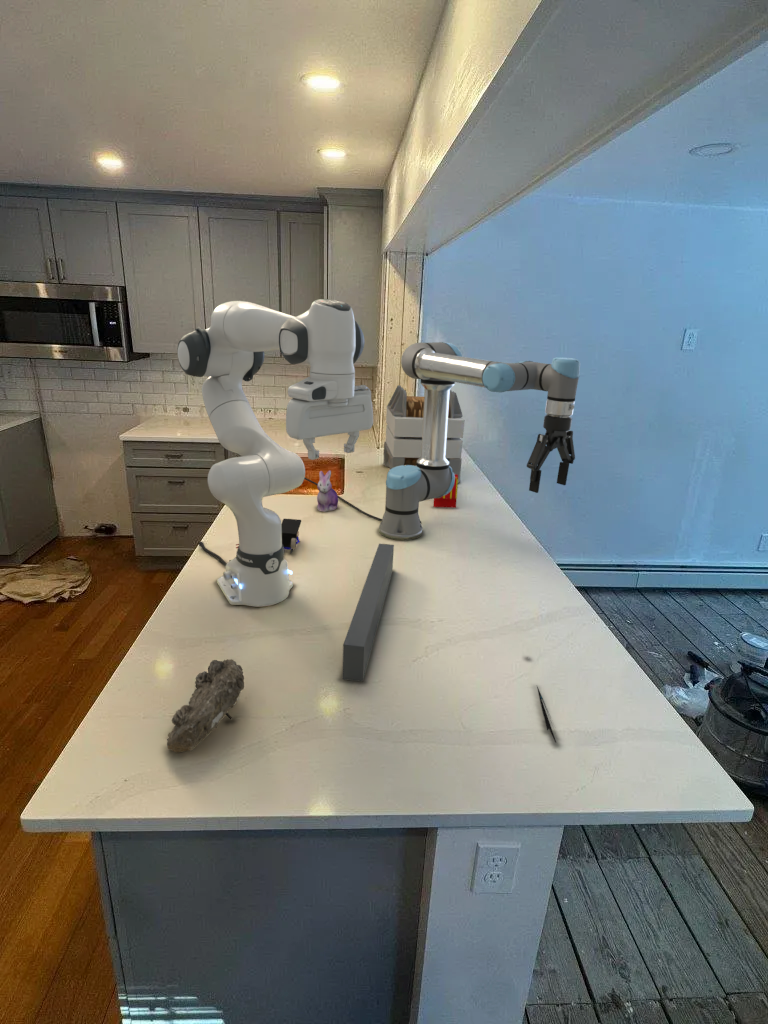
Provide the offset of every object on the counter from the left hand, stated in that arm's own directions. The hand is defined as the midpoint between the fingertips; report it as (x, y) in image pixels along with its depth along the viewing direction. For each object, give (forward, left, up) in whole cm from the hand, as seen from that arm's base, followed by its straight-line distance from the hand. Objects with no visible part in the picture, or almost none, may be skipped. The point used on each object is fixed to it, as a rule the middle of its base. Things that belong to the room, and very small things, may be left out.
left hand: (331, 455), depth 117 cm
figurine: (-79, +55, -46) cm, 106 cm away
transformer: (-95, +121, -46) cm, 161 cm away
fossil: (+6, -32, -46) cm, 56 cm away
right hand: (+5, +74, -18) cm, 77 cm away
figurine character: (-55, +23, -46) cm, 75 cm away
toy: (-64, +103, -46) cm, 129 cm away
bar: (-5, +17, -46) cm, 49 cm away
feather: (+41, +24, -46) cm, 66 cm away
